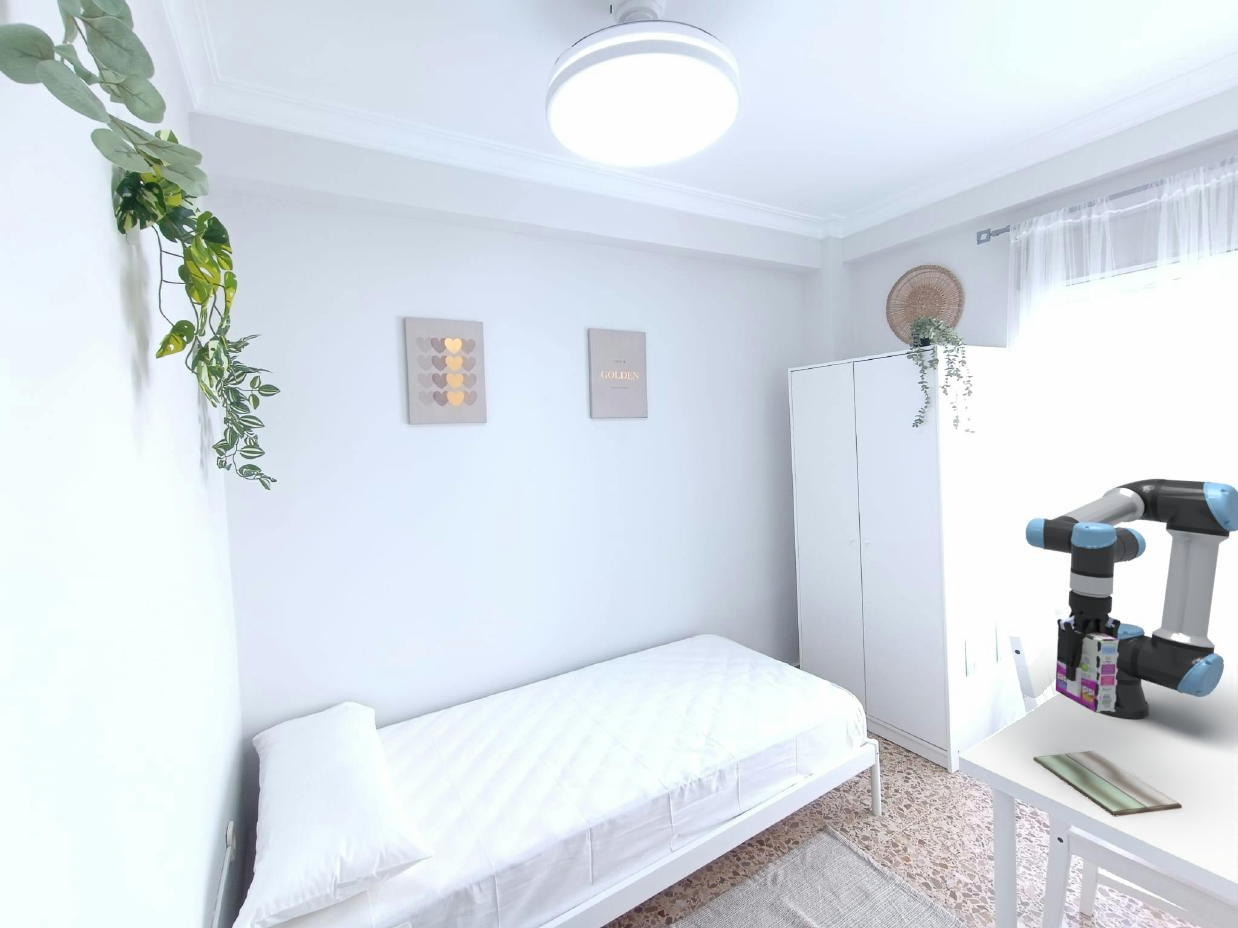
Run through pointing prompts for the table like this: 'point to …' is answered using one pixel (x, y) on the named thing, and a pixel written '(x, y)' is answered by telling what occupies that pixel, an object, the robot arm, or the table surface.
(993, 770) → the table surface
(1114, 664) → the candy bar box
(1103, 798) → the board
